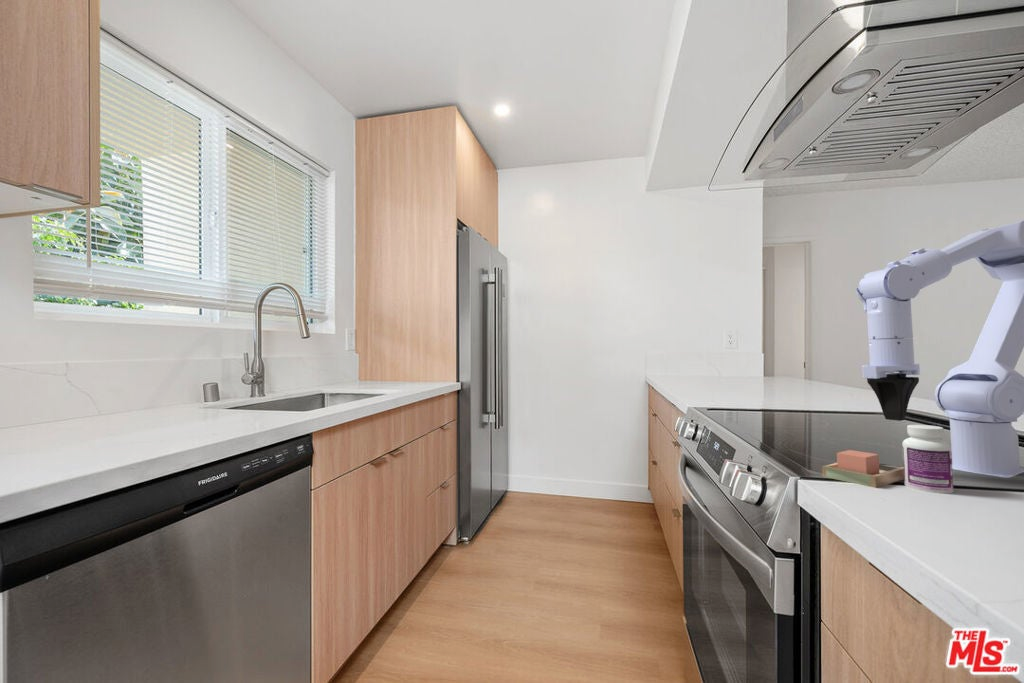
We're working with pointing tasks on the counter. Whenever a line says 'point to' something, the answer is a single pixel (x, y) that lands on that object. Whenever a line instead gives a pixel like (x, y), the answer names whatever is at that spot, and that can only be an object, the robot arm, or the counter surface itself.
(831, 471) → the box
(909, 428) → the pill bottle
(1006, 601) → the counter surface
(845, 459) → the red block
